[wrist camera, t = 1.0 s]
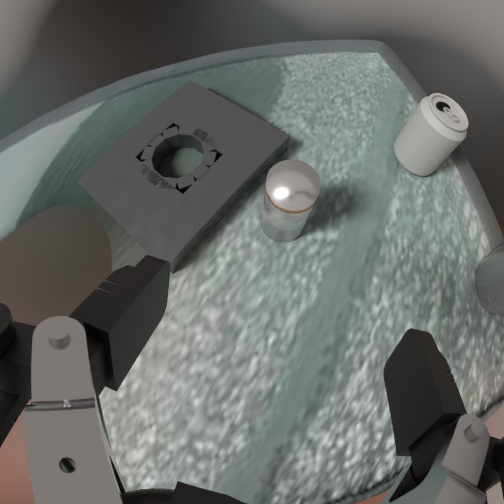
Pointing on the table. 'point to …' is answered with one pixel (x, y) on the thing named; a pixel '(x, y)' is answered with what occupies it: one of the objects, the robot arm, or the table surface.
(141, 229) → the plate
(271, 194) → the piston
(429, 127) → the can
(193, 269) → the table surface
